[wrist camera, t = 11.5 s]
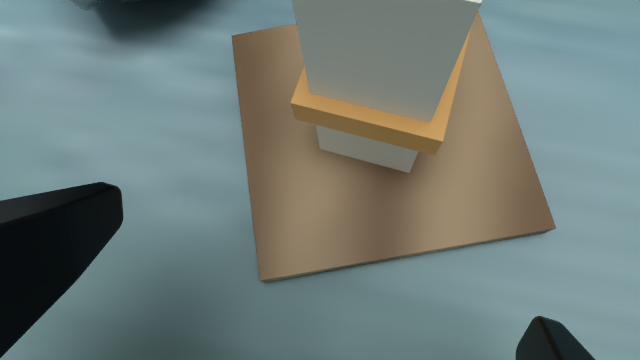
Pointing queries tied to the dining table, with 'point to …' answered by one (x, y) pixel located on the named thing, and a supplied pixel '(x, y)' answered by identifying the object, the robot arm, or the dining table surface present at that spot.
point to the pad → (379, 171)
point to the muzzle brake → (95, 3)
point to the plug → (380, 74)
